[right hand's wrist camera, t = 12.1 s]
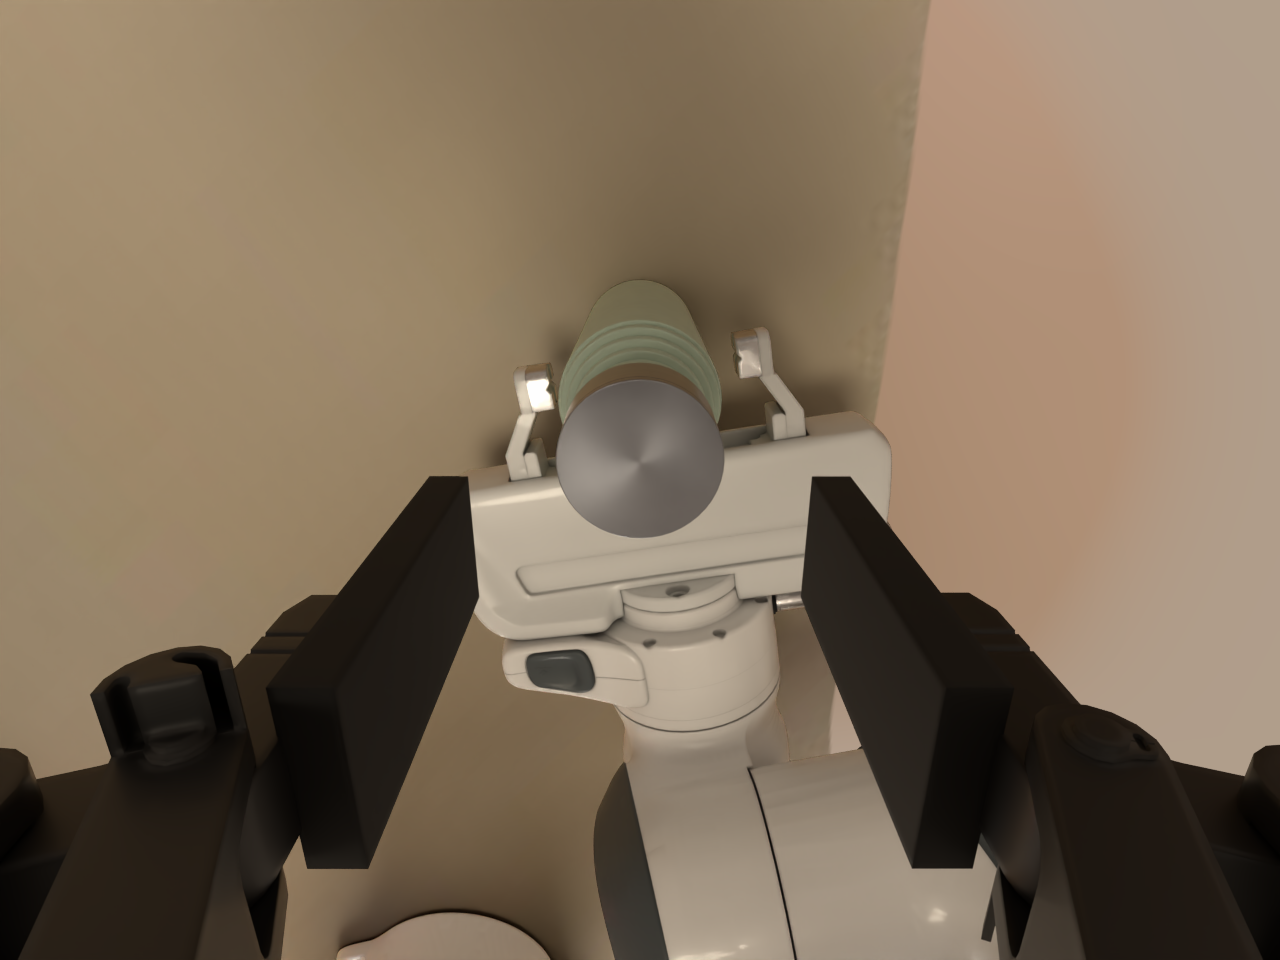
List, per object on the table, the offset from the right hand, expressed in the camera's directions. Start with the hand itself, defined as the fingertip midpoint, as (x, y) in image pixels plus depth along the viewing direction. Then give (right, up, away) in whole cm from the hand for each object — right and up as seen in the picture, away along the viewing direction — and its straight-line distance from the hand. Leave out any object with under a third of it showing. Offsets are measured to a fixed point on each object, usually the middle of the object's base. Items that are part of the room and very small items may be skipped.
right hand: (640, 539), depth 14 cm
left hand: (0, +7, +16) cm, 17 cm away
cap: (0, +2, +5) cm, 5 cm away
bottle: (0, +9, +22) cm, 24 cm away
